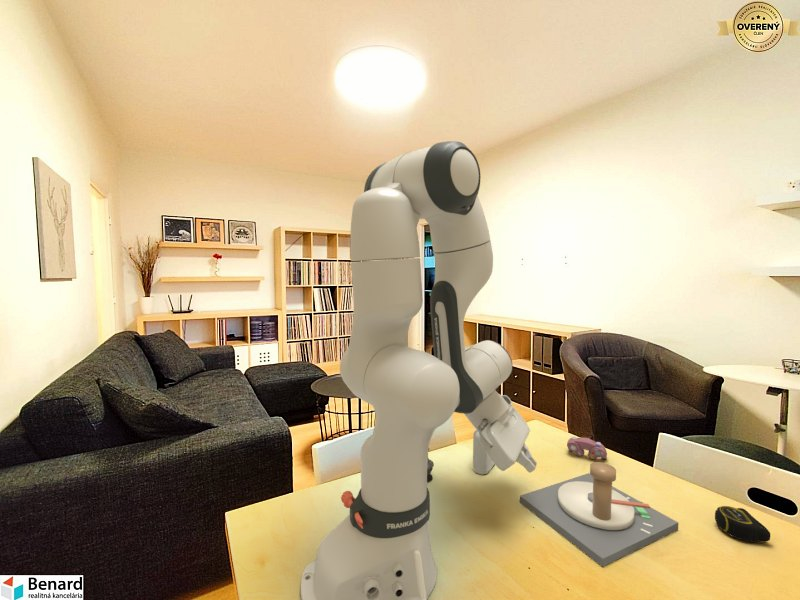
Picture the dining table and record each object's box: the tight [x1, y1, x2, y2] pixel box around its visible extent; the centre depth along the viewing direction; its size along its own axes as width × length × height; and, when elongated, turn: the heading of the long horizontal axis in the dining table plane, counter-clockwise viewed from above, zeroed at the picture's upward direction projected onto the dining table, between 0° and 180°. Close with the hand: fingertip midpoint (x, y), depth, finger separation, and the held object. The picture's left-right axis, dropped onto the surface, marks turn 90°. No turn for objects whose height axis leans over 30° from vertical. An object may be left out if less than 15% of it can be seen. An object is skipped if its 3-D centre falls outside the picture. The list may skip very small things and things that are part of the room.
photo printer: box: [472, 427, 495, 475], centre depth 96 cm, size 10×4×12 cm, turn 148°
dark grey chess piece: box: [427, 448, 435, 484], centre depth 90 cm, size 6×6×12 cm
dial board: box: [519, 472, 679, 568], centre depth 76 cm, size 22×20×2 cm
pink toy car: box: [566, 436, 608, 461], centre depth 100 cm, size 10×5×7 cm, turn 56°
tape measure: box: [714, 505, 771, 543], centre depth 71 cm, size 7×7×4 cm
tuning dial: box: [558, 461, 651, 530], centre depth 75 cm, size 17×14×11 cm
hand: (533, 468), depth 76 cm, fingers closed
